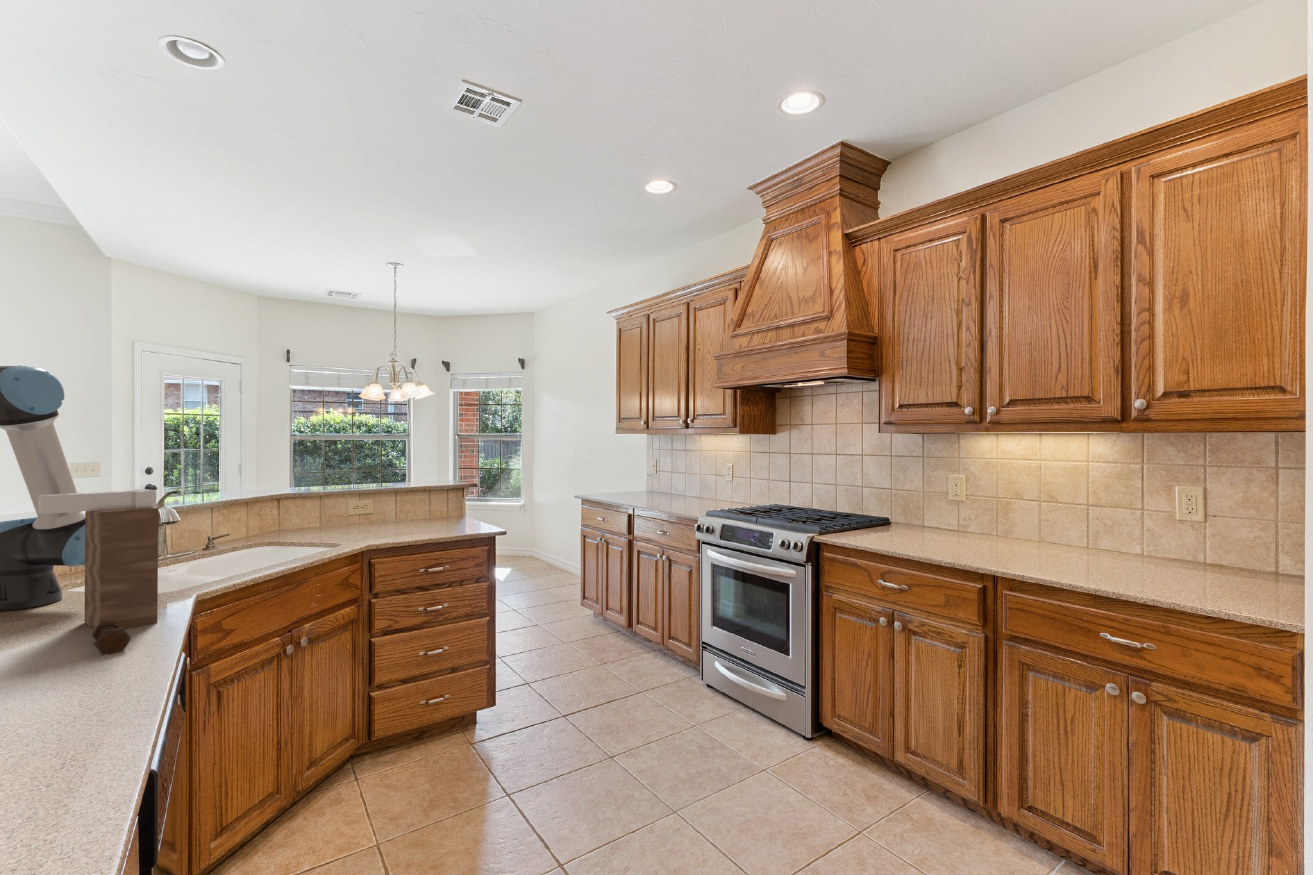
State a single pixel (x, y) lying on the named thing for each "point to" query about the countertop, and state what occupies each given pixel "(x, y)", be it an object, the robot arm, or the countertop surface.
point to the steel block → (96, 501)
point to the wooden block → (121, 567)
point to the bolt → (110, 638)
